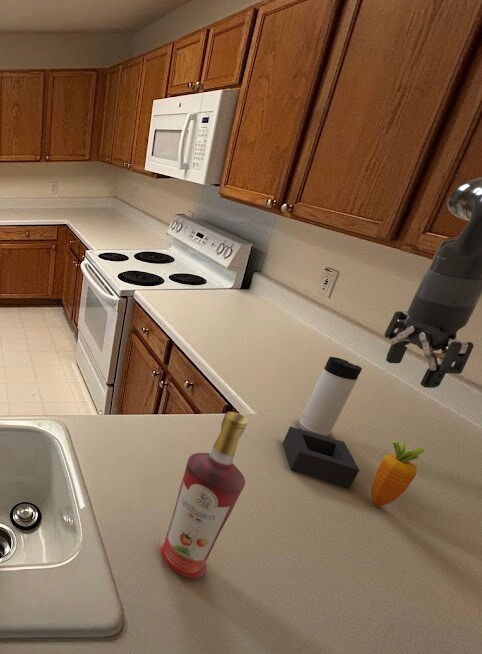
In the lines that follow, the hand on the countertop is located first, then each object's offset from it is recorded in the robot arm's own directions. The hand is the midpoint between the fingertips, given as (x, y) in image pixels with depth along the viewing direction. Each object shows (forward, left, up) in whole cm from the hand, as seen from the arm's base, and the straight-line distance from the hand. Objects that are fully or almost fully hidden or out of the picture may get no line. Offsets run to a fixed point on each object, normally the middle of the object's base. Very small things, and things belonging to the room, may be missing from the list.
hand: (409, 373), depth 79 cm
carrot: (-1, +9, -25) cm, 27 cm away
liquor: (+33, +43, -25) cm, 60 cm away
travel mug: (+4, -15, -25) cm, 30 cm away
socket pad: (+7, +1, -25) cm, 26 cm away
